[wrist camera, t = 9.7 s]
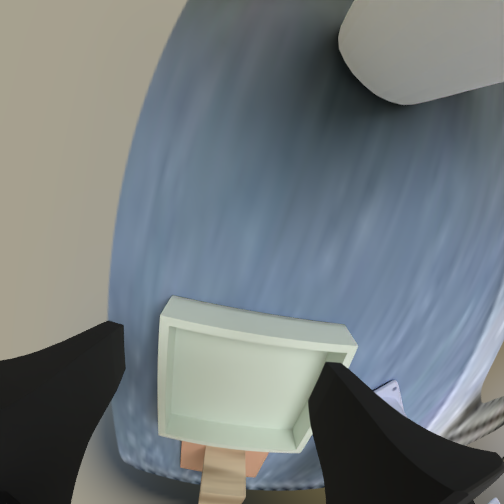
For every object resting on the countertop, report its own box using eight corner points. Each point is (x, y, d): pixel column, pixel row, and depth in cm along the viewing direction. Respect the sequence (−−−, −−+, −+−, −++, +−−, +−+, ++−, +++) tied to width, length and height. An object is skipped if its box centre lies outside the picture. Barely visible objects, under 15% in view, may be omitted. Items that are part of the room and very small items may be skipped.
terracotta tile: (255, 474, 24) (255, 477, 24) (180, 464, 24) (180, 467, 23) (274, 437, 22) (274, 441, 22) (183, 425, 21) (182, 429, 21)
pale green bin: (295, 430, 22) (300, 452, 19) (165, 412, 21) (158, 435, 18) (344, 324, 19) (358, 346, 16) (172, 295, 18) (160, 314, 15)
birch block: (239, 466, 23) (238, 508, 17) (203, 461, 23) (198, 503, 17) (245, 449, 22) (245, 496, 16) (206, 444, 22) (200, 491, 16)
